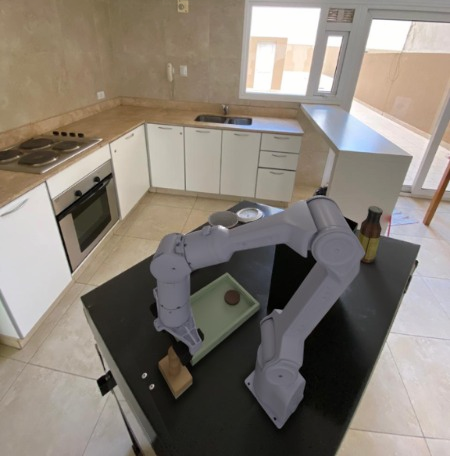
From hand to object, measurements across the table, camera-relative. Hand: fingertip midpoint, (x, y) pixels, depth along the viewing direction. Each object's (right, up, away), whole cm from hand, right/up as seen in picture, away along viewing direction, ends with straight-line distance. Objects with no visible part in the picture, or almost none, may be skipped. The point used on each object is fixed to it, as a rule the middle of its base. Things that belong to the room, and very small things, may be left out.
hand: (176, 344), depth 51 cm
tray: (+6, -5, +16) cm, 18 cm away
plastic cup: (+9, +5, +41) cm, 43 cm away
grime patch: (+12, -2, +21) cm, 24 cm away
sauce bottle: (+59, +2, +39) cm, 70 cm away
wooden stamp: (-1, -9, +3) cm, 10 cm away
